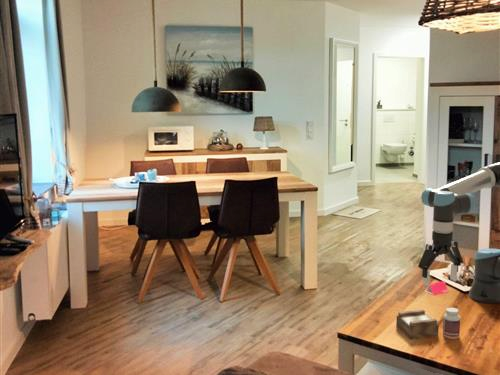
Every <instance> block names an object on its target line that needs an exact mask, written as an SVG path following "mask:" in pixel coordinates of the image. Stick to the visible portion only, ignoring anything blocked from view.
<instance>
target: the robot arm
mask: <svg viewBox="0 0 500 375" xmlns="http://www.w3.org/2000/svg"><path fill="white" fill-rule="evenodd" d="M493 187H496V188H497V187H498V188H500V161H499V162H495V163H492V164H488V165H486V166H483V167H481V168H478V170H477V171H476V172H475V173H472V174H470V175H467V176H465V177H462V178H460V179H458V180H455V181H452V182H451V183H447V184H446V185H443V186H440V187H437V188H434V187H432V188H429V187H428V188H426V189H424V190H423V191H422V193H421V196H420V198H421V199H420V200H421V203H422V204H423V205H425V206H428V207H430V208H433V214H432V215H433V217H432V233H431V240H432V244H429V243H427V244H426V245H425V250H424V252H423V254H422V257H421V258H420V261H419V263H418V265H417V268H419V269H421V271H422V272H421V277H422V279H423V280H422V284H423V285H424V286H426V287H430V278H431V277H430V276H431V274H430V273H431V269H430V268H431V266H432V265H433V263H434V261H435V260H436V259H437V257H440V256H442V255H447V257H448V259H449V260H450V261H451V262H452V263H451V264H450V277H449V278H450V280H451V281H453V282H457V278H458V272H459V267H460V266H461V265H462V263H464V260H463V257H462V255H461V252H460V250H459V245H458V244H459V243H458V241H456V240H453V238H454V237H453V232H454V230H453V229H454V216H455V215H461V214H467V213H471V212H474V211H475V209H476V208H477V206H478V204H477V203H478V202H477V199H476V197H475V195H474V194H475V193H476V192H478V191H481V190H483V189H491V188H493ZM451 249H452V250H451ZM473 274H474V275H473V276H474V277H473V282H472V283H471V286H470V289H469V292H468V296H469V298H470V299H472V300H474V301H476V302H479V303H485V304H499V303H500V249H498V248H481V249H478V250H477V251H476V252H475V257H474V273H473Z"/></svg>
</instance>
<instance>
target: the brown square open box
mask: <svg viewBox="0 0 500 375" xmlns="http://www.w3.org/2000/svg"><path fill="white" fill-rule="evenodd" d="M395 324H396V326H395V327H396V328H397V329H398V330H399V331H401V332H402V333H403V334H404V335H405V336H406V337H407V338H408V339H409V340H415V339H416V340H417V339H424V338H425V339H427V338H434V337H439V328H440V327H439V325H440V324H439V323H438V320H437V319H436V318H431V317H430V316H428V315H427V314H426V311H425V310H424V309H417V310H408V311H399V312H398V314H397V315H396V323H395Z"/></svg>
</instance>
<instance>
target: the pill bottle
mask: <svg viewBox="0 0 500 375" xmlns="http://www.w3.org/2000/svg"><path fill="white" fill-rule="evenodd" d="M460 329H461V316H460V315H459V309H458V308H456V307H447V308H446V309H445V313H444V314H443V324H442V335H443V337H445V338H447V339H450V340H455V339H459V338H460Z"/></svg>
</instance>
